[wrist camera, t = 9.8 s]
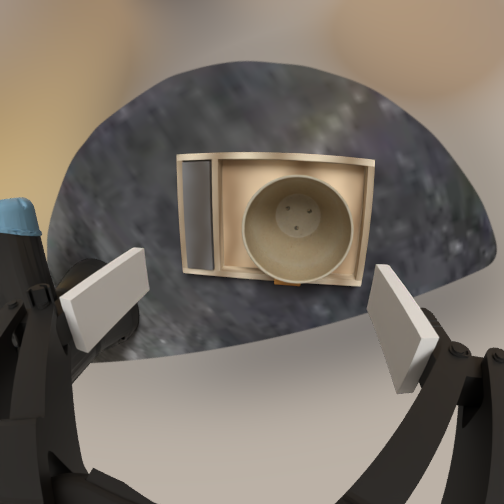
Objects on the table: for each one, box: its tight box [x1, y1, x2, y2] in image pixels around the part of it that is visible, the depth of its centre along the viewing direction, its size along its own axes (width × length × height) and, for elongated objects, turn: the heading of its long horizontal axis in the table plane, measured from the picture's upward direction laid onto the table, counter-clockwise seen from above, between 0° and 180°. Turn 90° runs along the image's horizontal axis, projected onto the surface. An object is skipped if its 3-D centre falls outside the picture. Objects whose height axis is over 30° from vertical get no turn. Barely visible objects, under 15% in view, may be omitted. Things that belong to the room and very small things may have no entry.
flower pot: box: [242, 175, 354, 283], centre depth 27 cm, size 10×10×7 cm
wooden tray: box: [177, 152, 375, 286], centre depth 30 cm, size 22×14×3 cm
